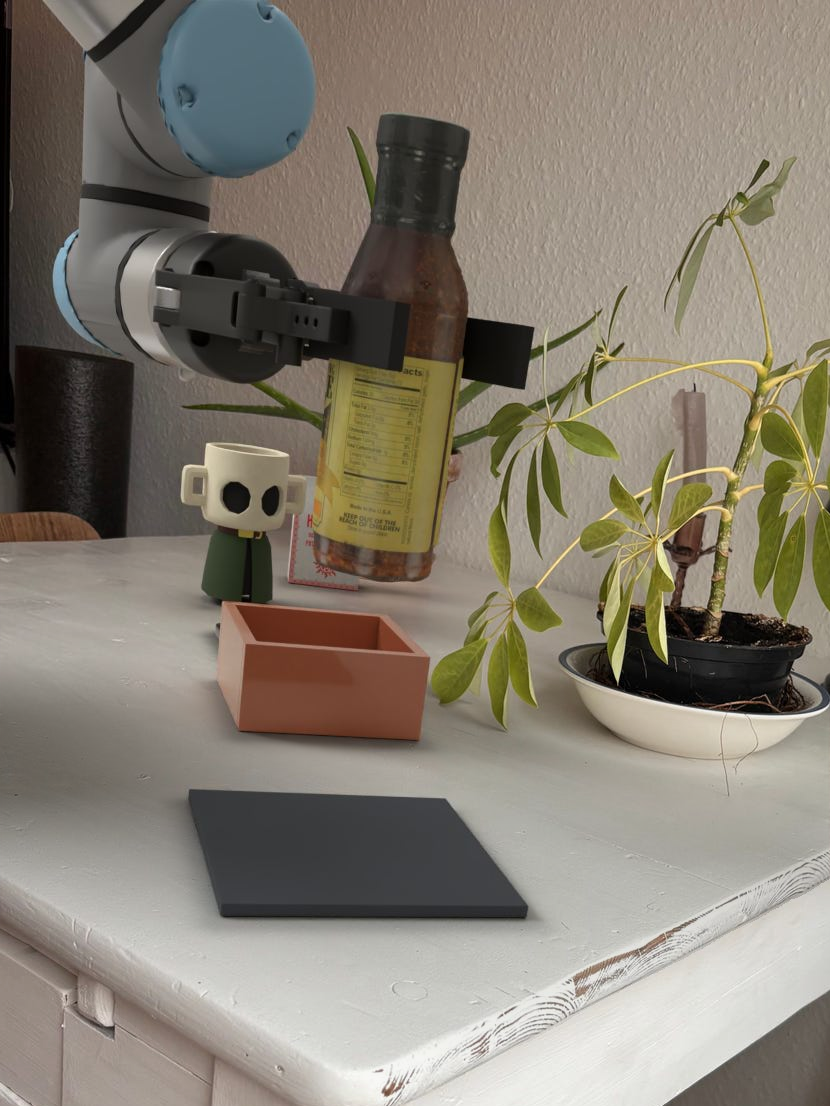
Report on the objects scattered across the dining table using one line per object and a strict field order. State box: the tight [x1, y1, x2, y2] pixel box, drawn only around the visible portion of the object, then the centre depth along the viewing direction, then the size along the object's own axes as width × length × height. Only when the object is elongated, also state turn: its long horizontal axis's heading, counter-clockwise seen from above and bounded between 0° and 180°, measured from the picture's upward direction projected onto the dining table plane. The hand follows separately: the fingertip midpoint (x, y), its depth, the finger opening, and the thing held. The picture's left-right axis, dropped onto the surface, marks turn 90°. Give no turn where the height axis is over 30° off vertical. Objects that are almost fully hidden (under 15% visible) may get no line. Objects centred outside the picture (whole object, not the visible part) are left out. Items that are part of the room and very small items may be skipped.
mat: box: [188, 788, 529, 918], centre depth 63 cm, size 14×14×1 cm
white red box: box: [287, 474, 360, 592], centre depth 125 cm, size 4×7×10 cm, turn 99°
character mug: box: [180, 442, 307, 604], centre depth 111 cm, size 11×7×13 cm, turn 115°
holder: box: [215, 600, 431, 741], centre depth 85 cm, size 12×12×6 cm
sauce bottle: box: [312, 111, 471, 583], centre depth 60 cm, size 6×6×20 cm
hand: (463, 347), depth 56 cm, fingers closed on sauce bottle, 6 cm apart
